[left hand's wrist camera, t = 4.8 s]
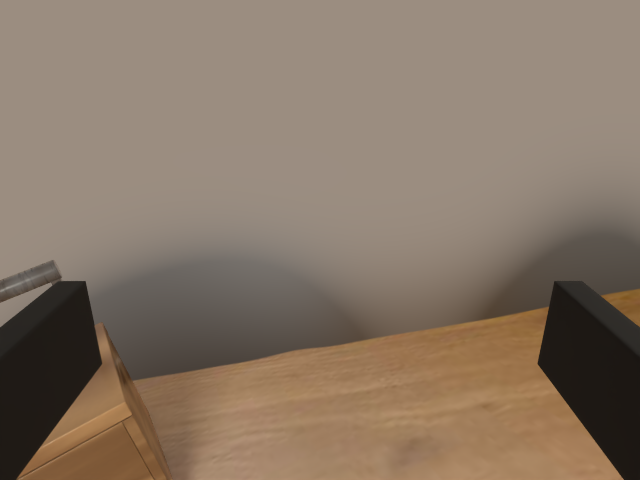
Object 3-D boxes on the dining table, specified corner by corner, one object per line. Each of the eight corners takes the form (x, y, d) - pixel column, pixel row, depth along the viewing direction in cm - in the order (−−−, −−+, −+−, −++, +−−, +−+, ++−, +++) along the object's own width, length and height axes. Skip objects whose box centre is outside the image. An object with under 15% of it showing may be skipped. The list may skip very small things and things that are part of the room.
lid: (-1, 383, 38) (-61, 294, 34) (107, 332, 41) (63, 247, 38) (-20, 499, 26) (-113, 384, 23) (132, 415, 30) (73, 304, 26)
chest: (52, 466, 41) (-2, 387, 37) (148, 412, 44) (108, 335, 41) (55, 594, 30) (-20, 500, 26) (183, 508, 33) (133, 415, 30)
